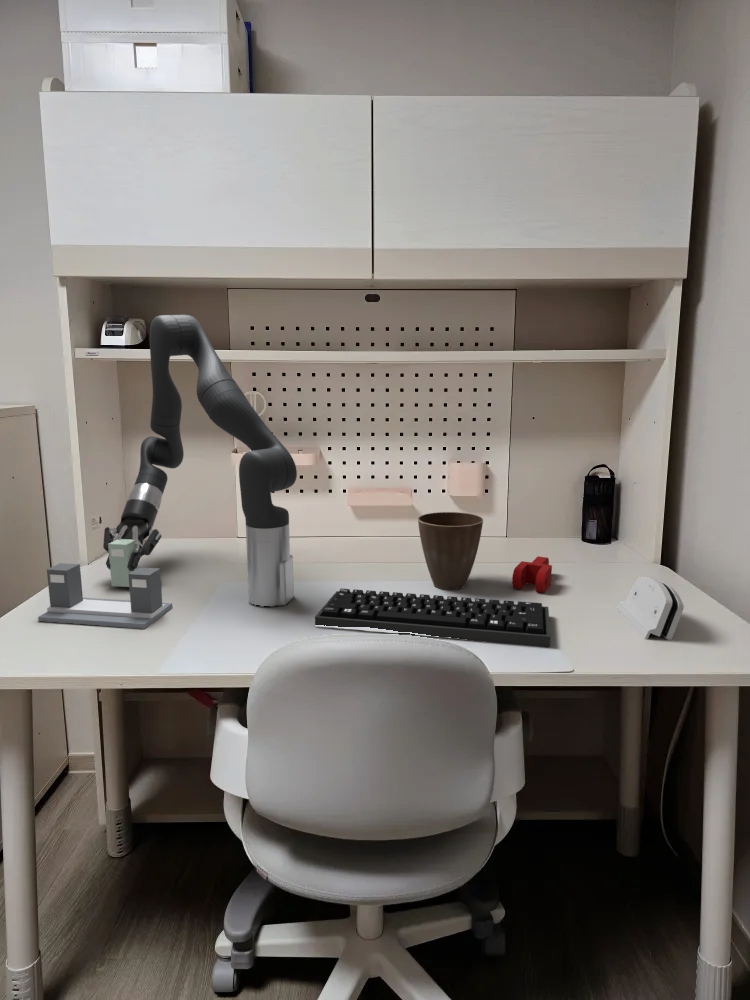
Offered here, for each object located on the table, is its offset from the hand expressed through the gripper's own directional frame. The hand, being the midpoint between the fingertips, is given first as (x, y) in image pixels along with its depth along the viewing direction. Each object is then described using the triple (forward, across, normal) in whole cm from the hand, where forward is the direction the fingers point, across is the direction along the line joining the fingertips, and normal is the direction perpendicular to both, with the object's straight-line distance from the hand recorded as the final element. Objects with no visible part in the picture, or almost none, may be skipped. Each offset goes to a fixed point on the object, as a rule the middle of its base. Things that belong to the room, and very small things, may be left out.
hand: (120, 568), depth 157 cm
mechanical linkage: (-11, +94, +19) cm, 96 cm away
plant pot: (-7, +74, +15) cm, 76 cm away
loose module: (+2, 0, +4) cm, 5 cm away
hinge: (+5, +115, +4) cm, 115 cm away
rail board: (+14, +5, -7) cm, 17 cm away
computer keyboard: (+10, +72, -1) cm, 73 cm away
